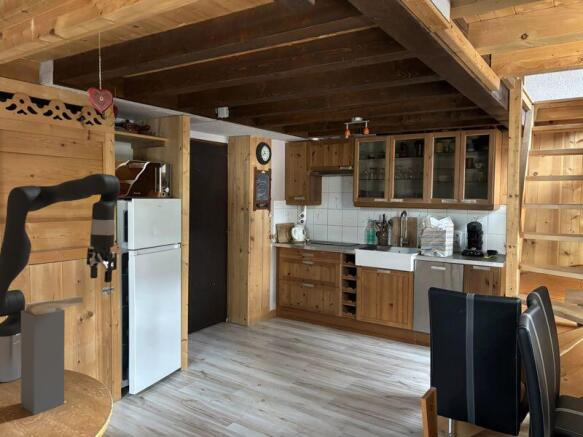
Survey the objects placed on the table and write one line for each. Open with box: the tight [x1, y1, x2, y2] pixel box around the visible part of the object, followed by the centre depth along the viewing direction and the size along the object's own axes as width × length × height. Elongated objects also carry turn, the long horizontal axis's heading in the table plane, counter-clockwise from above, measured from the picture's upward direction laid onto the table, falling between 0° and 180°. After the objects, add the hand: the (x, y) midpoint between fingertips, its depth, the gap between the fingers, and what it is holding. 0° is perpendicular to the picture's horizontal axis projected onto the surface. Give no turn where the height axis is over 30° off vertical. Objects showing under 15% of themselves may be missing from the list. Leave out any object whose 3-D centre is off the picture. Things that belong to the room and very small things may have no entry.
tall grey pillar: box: [20, 308, 66, 416], centre depth 144 cm, size 9×10×32 cm
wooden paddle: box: [25, 295, 84, 315], centre depth 147 cm, size 7×16×2 cm, turn 145°
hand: (100, 280), depth 149 cm, fingers open, 8 cm apart
